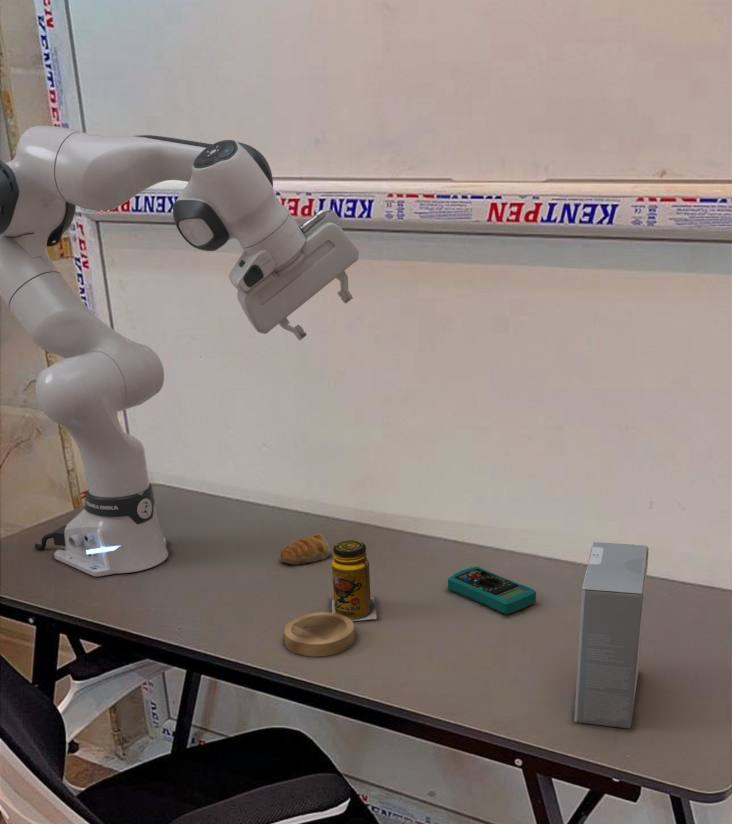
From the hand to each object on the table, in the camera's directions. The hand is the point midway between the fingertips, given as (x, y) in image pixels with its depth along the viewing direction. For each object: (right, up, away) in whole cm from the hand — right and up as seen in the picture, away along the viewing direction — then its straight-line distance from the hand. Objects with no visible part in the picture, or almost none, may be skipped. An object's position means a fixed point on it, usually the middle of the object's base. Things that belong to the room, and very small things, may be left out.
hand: (325, 318), depth 156 cm
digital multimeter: (+28, -45, +8) cm, 53 cm away
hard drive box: (+40, -59, -22) cm, 75 cm away
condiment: (+5, -47, +6) cm, 48 cm away
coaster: (-1, -52, -4) cm, 52 cm away
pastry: (-5, -37, +27) cm, 46 cm away
